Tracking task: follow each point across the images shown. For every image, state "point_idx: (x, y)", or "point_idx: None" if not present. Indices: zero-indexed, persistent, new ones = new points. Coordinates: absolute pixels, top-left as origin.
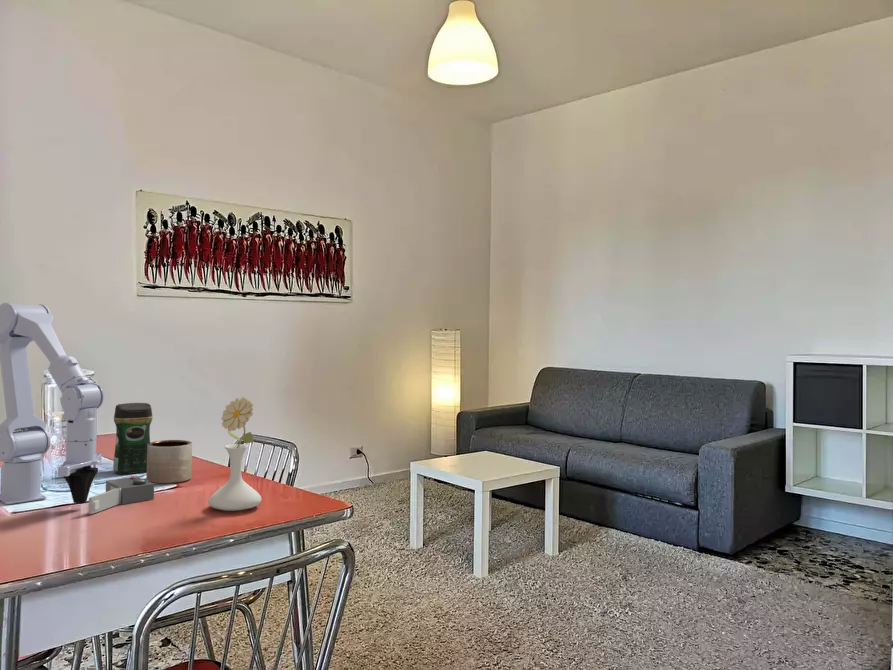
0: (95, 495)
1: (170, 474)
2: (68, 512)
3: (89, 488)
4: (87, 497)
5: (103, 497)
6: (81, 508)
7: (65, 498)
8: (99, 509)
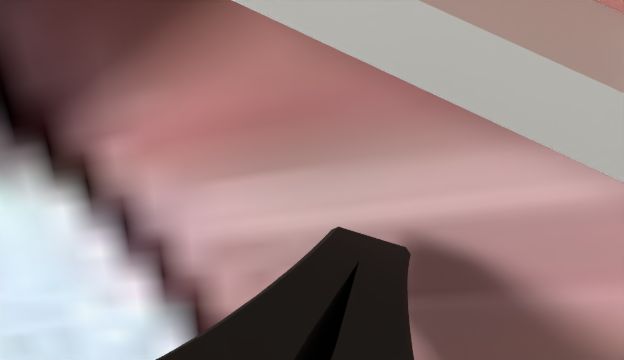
0: (591, 166)
1: None
2: (495, 313)
3: (260, 313)
4: (320, 247)
5: (500, 11)
6: (345, 223)
7: (51, 348)
8: (589, 4)
